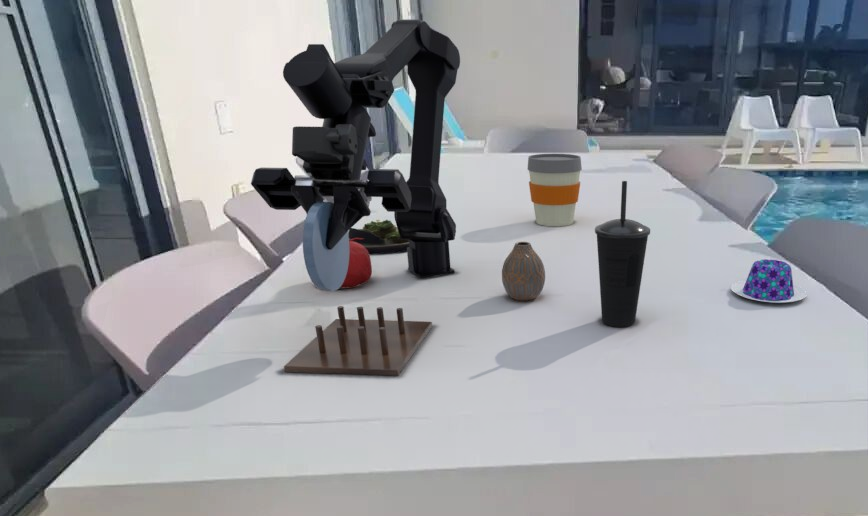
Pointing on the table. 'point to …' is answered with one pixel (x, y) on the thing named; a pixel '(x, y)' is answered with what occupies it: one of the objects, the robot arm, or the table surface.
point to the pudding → (769, 283)
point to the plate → (324, 249)
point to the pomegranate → (357, 265)
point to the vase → (523, 273)
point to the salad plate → (379, 237)
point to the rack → (361, 345)
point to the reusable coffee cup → (554, 187)
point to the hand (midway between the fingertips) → (322, 247)
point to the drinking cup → (620, 266)
